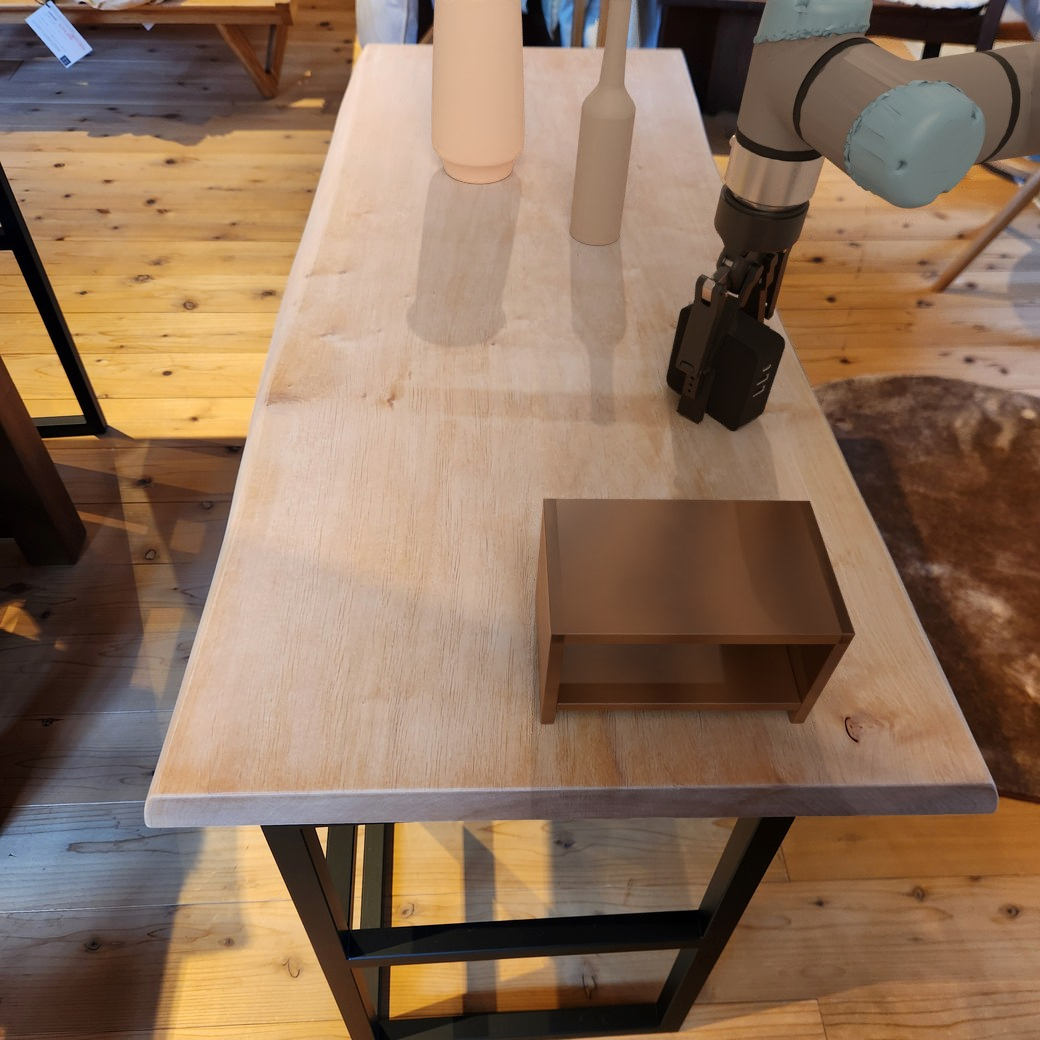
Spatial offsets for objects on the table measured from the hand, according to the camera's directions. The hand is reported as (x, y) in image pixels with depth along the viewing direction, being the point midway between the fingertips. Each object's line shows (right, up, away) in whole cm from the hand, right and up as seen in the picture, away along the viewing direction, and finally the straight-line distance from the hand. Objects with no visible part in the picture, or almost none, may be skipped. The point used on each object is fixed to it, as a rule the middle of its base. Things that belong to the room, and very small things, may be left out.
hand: (709, 398), depth 89 cm
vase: (-26, +38, +33) cm, 56 cm away
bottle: (-10, +25, +22) cm, 35 cm away
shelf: (-8, -24, -21) cm, 33 cm away
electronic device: (0, 0, 0) cm, 1 cm away
